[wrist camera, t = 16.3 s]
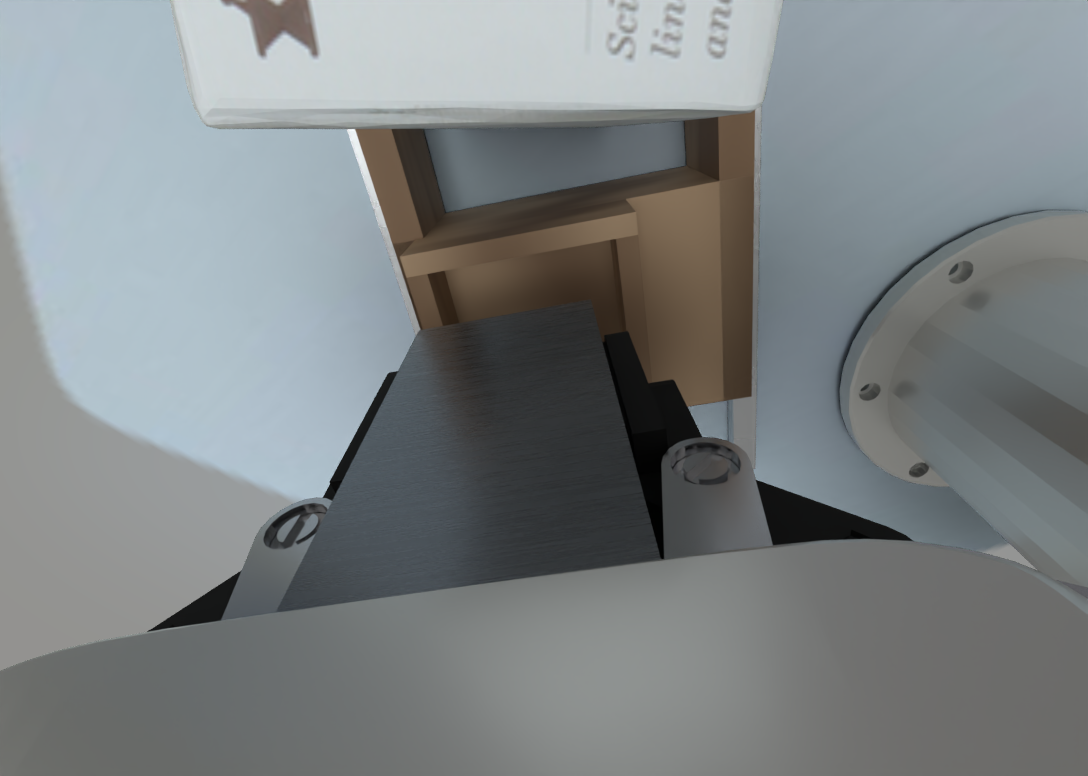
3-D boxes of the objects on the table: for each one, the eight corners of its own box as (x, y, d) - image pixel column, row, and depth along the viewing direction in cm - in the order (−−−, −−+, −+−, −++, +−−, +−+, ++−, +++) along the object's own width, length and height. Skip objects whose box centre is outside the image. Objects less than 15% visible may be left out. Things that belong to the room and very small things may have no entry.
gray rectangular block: (611, 442, 14) (692, 811, 7) (463, 466, 14) (389, 841, 7) (590, 299, 12) (673, 603, 5) (418, 330, 12) (251, 659, 5)
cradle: (705, -274, 13) (807, -512, 8) (719, 349, 22) (772, 427, 17) (307, -166, 14) (171, -317, 9) (470, 390, 23) (448, 475, 18)
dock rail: (757, -355, 13) (812, -470, 10) (749, 458, 25) (773, 500, 23) (244, -210, 14) (176, -279, 12) (475, 498, 26) (467, 541, 24)
